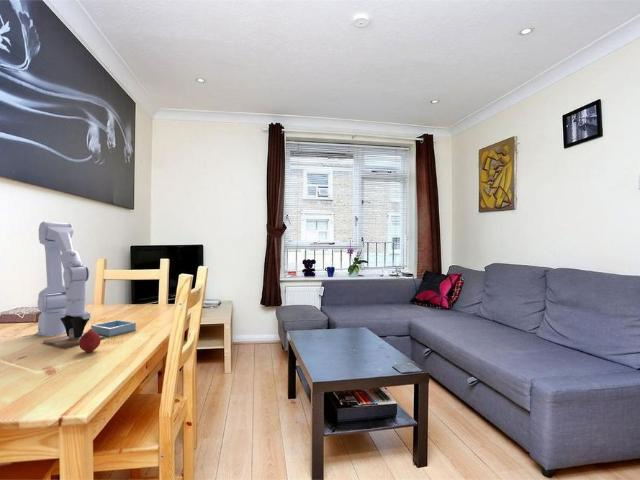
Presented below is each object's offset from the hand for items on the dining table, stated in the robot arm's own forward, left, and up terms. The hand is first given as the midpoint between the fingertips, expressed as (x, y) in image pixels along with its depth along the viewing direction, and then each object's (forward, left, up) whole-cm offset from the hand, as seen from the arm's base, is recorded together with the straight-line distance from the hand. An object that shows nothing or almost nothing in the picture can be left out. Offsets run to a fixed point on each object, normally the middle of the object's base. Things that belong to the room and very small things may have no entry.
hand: (74, 336), depth 122 cm
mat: (0, 0, -2) cm, 2 cm away
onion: (+17, -5, -2) cm, 18 cm away
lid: (0, 0, -2) cm, 2 cm away
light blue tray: (+1, +14, -2) cm, 15 cm away
